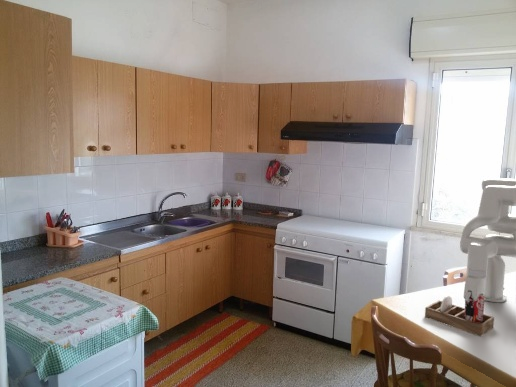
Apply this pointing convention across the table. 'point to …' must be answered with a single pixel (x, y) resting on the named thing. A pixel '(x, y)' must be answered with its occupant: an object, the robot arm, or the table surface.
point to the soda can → (476, 310)
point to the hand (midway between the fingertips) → (473, 312)
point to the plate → (446, 304)
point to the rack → (458, 319)
